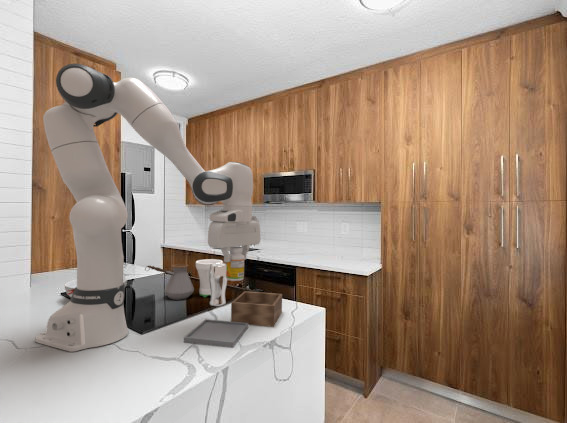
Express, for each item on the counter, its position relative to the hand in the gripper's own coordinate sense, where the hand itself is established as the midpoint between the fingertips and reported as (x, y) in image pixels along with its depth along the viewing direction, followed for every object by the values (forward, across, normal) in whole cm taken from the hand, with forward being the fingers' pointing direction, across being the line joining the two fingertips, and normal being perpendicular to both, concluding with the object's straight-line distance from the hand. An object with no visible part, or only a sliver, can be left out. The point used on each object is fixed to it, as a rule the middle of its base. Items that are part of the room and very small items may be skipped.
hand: (235, 260), depth 94 cm
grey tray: (+21, +7, 0) cm, 22 cm away
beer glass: (+21, -14, -20) cm, 32 cm away
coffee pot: (+21, -6, -39) cm, 45 cm away
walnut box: (+20, -12, +1) cm, 23 cm away
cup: (+21, -20, -32) cm, 43 cm away
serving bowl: (+22, +10, -62) cm, 67 cm away
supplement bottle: (+6, 0, 0) cm, 6 cm away
